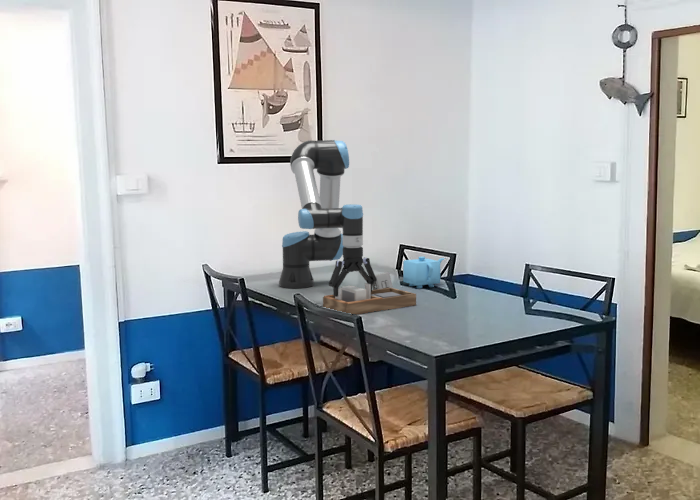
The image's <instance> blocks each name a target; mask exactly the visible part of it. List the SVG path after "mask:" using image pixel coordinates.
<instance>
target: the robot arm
mask: <svg viewBox="0 0 700 500" xmlns="http://www.w3.org/2000/svg"><path fill="white" fill-rule="evenodd" d="M289 165H290V169H291V172H292V173H293V174H294V177H295V182H296V187H297V192H298V196H299V202H300V206H301V209H299V210H298V213H297V215H298V216H297V221H298V227H299V228H300V229H303V230H302V231H294V232H291V233H290V232H289V233H287V234H284V236H283V237H282V240H281V241H282V245H281V247H282V270H281V273H280V274H281V275H280V277H279V280H278V286H279V287H281V288H284V289H285V288H286V289H307V288H311V287H313V286H314V285H315V283H314V277H313V273H312V271H311V268H310V262H321V261H322V262H325V261H330V262H331V261H335V267H334V269H333V271H332V274H331V277H330V280H329V282H328V287H332V289H333V291H332V293H333V294H332V295H334V296H335V299H338V300H341V284H342V283H343V281H344V280H345V278H346V277H347V276H348V274H349V273H353V272H358V273H359V274H360V276H361V277H362V278H363V279H364V280H365V281H366V282H364V289H366V299H371V292H372V290H373V286H372V284H374V281H377V279H376V277H375V275H376V274H375V272H374V270H373V267H372V265H371V261H370V258H369V257H363V256H364V247H363V245H364V240H363V238H364V235H363V234H364V233H363V232H364V231H363V229H364V228H363V226H364V221H363V220H364V218H363V217H364V210H363V205H362V204H356V203H353V204H352V203H351V204H343V206H342V207H340V194H341V193H340V191H341V177H342V176H343V175H344V174H345V170H346V169H349V168H350V156H349V150H348V146H347V144H346V142H345V141H344V140H335V139H330V140H326V139H325V140H307V141H304V142H302V143H300V144H299V145H298V146H296V148H295V149H293V152H292V154H291V157H290V163H289ZM314 170H316V173H317V174H318V175H319V176H320V177H319V190H318V185H317V180H316V176H315V172H314ZM304 229H305V231H304ZM341 229H342V230H341ZM308 230H314V231H313V232H314V233H313V234H310V232H309V231H308ZM341 258H342V259H343V260H340V259H341ZM362 265H363V266H362Z"/></svg>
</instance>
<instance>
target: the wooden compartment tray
mask: <svg viewBox="0 0 700 500" xmlns="http://www.w3.org/2000/svg"><path fill="white" fill-rule="evenodd" d="M387 292H394V293H397V294H400V295H401V296H394V297H387V298H381V297H380V298H379V297H376V296H372V295H373V294H378V293H387ZM412 306H417V293H415V292H410V291H406V290H402V289H399V288H395V287H393V288H384V289H377V290H373V289H372V292H371V299H366V300H360V301H353V302H345V301H342V300H338V299H335V296H334V295H333V294H328V295H323V297H322V308H323V307H326V308H330V309H334V310H337V311H342V312H346V313H351V314H356V315H355V316H357V314H358V315H362V314H363V313H364V314H369V313H368V312H370V313H375V312H374V311H376V312H381V310H383V311H387V310H388V309H389V310H394V309H401V308H407V307H412ZM364 314H363V315H364Z"/></svg>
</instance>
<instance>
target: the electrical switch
mask: <svg viewBox="0 0 700 500" xmlns="http://www.w3.org/2000/svg"><path fill="white" fill-rule="evenodd" d="M390 274H391V273H390V272H389V271H387V272H382V273H380V274H379V273H378V274H375V277H376V279H377V281H374V284H372V290H377V289H384V288H394V287H393V281H392V278H391V275H390Z"/></svg>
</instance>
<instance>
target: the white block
mask: <svg viewBox="0 0 700 500" xmlns="http://www.w3.org/2000/svg"><path fill="white" fill-rule="evenodd" d="M340 288H341V300H342V301H345V302H353V301H360V300H366V289H365V288H361V287H358V286H353V285H345V286H340Z"/></svg>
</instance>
